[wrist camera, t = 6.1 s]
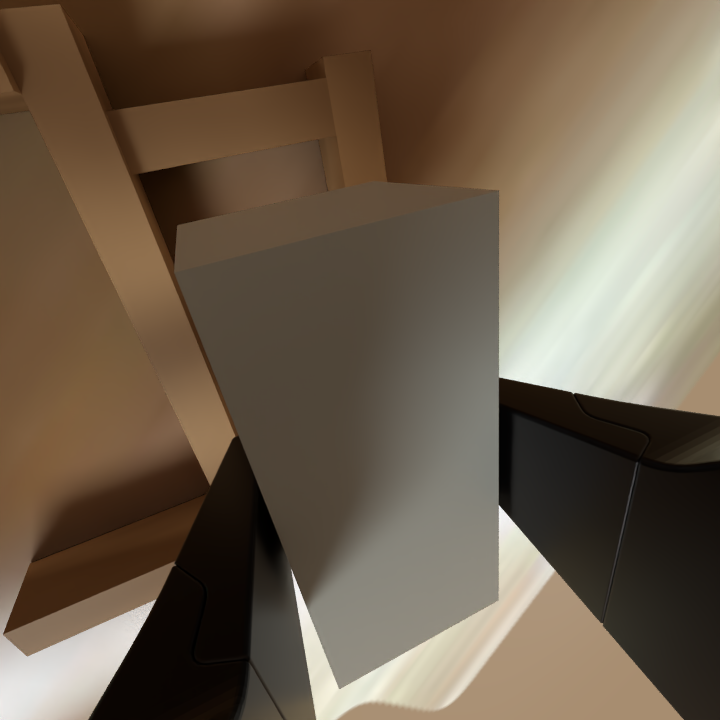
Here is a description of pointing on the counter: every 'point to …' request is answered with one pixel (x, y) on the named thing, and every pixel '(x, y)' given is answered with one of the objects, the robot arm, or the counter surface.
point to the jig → (157, 263)
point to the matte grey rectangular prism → (364, 398)
